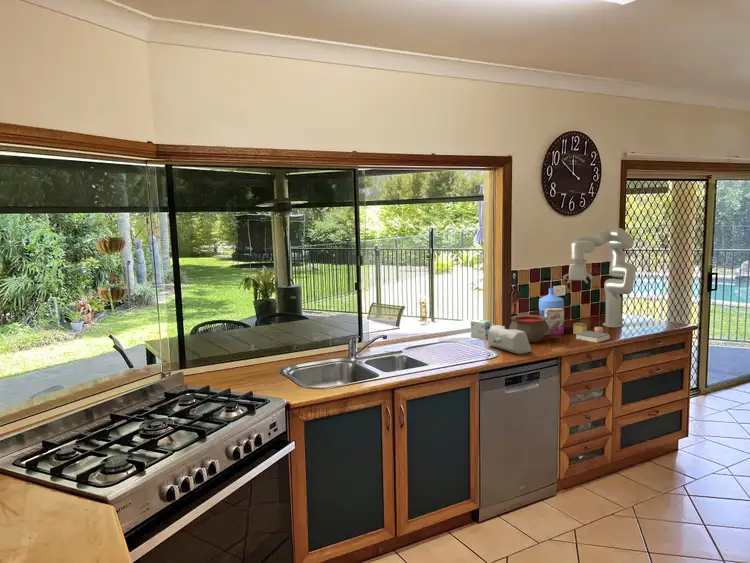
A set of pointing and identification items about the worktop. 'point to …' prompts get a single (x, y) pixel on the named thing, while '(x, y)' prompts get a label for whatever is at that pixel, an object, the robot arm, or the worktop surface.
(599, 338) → the podium
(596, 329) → the beige egg shape
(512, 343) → the tank
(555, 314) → the candy bar box
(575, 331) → the carton
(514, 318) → the brown pot
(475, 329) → the light bulb box
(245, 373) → the worktop surface
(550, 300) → the water jug
